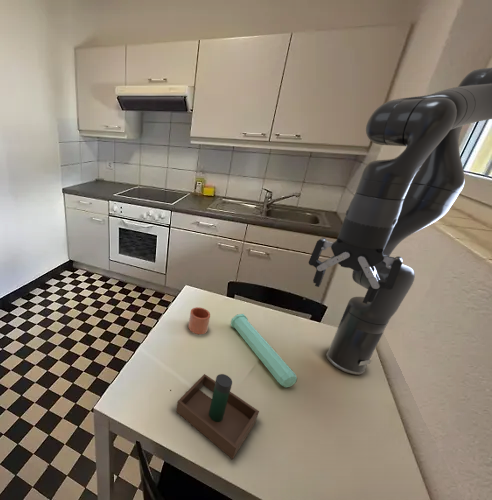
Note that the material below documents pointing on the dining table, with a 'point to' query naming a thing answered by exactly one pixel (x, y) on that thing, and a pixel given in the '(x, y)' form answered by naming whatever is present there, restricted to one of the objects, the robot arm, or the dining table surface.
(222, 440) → the tray
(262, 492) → the dining table surface
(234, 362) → the dining table surface
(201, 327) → the pen pot
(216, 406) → the marker
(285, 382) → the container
